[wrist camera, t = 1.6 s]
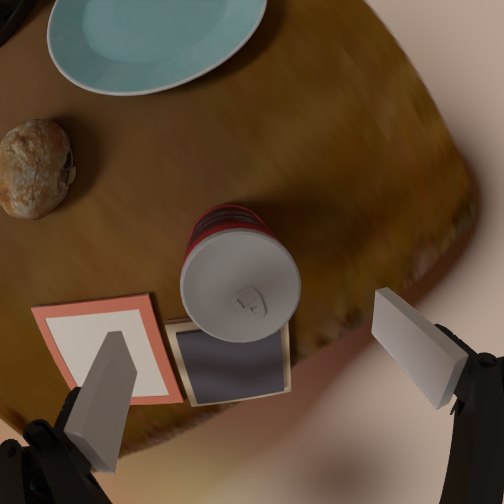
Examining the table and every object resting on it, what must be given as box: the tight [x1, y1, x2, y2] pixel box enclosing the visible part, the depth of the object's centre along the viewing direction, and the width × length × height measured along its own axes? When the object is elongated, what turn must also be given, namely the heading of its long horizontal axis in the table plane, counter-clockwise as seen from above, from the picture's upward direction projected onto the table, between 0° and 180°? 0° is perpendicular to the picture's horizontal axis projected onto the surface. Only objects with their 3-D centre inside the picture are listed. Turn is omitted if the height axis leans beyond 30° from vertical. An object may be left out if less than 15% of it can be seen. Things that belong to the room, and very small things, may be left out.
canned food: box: [180, 204, 301, 343], centre depth 23 cm, size 8×8×11 cm
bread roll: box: [0, 119, 76, 220], centre depth 21 cm, size 10×10×8 cm
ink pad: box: [165, 317, 291, 407], centre depth 32 cm, size 13×13×2 cm
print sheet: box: [31, 293, 184, 405], centre depth 30 cm, size 16×16×1 cm
